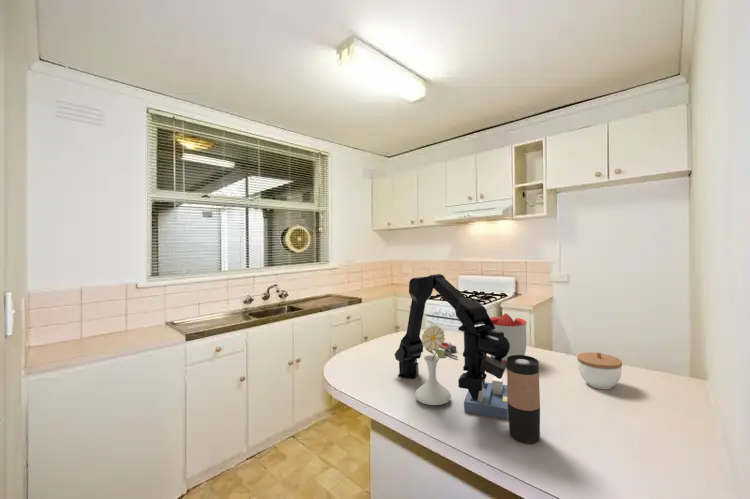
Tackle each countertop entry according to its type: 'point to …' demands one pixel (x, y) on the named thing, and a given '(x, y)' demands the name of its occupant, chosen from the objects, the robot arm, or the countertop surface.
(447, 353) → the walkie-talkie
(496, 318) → the citrus juicer
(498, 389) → the right tab
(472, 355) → the robot arm
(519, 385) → the travel mug
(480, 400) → the left tab
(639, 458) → the countertop surface
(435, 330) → the flower in vase
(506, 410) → the switch panel
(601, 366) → the lidded bowl
